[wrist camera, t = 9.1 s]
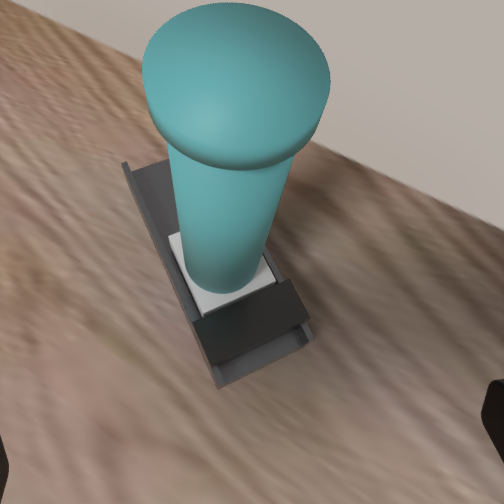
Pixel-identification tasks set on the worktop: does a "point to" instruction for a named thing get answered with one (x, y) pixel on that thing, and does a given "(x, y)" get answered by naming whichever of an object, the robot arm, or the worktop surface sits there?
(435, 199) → the worktop surface
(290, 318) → the track
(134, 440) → the worktop surface
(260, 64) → the teal tall cylinder
